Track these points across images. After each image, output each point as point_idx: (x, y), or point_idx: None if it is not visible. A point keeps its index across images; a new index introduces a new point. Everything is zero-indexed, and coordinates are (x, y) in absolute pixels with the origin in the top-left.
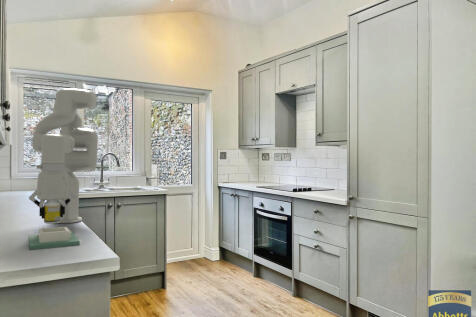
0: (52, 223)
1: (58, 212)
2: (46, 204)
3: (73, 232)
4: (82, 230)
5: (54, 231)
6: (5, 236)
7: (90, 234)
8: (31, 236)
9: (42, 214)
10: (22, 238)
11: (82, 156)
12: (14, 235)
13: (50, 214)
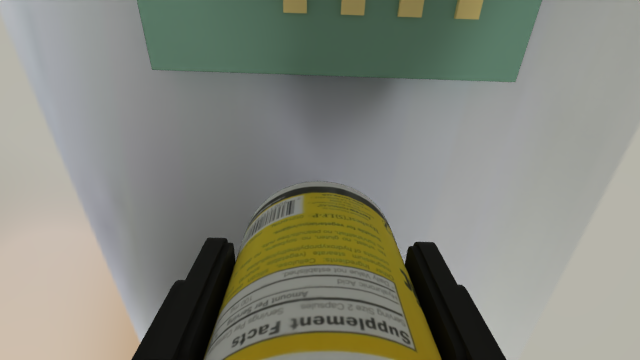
0: (323, 183)
1: (245, 272)
2: None
3: (150, 53)
4: (121, 225)
5: None
6: (576, 236)
7: (22, 46)
8: (510, 31)
9: (446, 273)
10: (523, 129)
11: None
12: (524, 242)
13: (354, 242)
